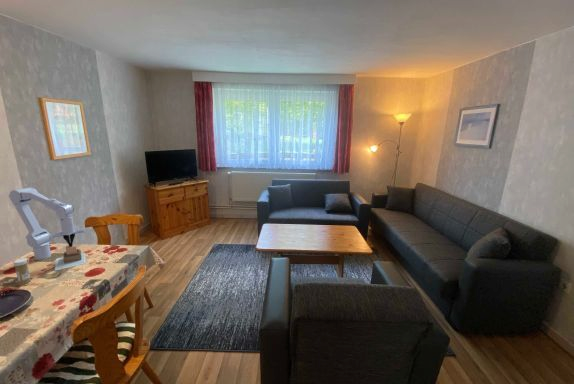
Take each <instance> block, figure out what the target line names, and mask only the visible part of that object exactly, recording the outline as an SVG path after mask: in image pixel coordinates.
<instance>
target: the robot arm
mask: <svg viewBox="0 0 574 384" xmlns="http://www.w3.org/2000/svg"><path fill="white" fill-rule="evenodd" d="M8 197H9V199H10V201H11V203H12V205H13V206H14V208H15V209H16V211H17V213H18V215H19V217H20V219H21V220H22V222H23V224H24V225H25V228H26V230H27V231H28V233H27V235H25V239H26V243H27V245H28V246H29V247H31V248H32V250H33V251H32V252H33V255H34V260H36V261H40V260H46V259H49V258H51V256H52V252H51V247H50V243H51V240H53V239H54V238H59V237H62V238H63V239H64V240H65V242H66V243H67V244H68V245H69V247H72V244H74V240H75V237H76V234H77V235H78V234H84V233H85V228H80V229H75V224H74V217H73V213H74V212H75V207H74V206H73V205H72V204H71V203H64V202H61V201H60V200H57V199H56V198H49V197H47V196H45V195H43V194H42V193H39V192H38V190H37V189H35V188H34V187H31V186H29V187H25V188H20V189H19V188H18V189H13V190H11V191H10V192H9V194H8ZM33 200H34V201H36V202H39V203H41V204H43V205H44V206H45V208H47V209H50V210H52V211H54V212H55V214H56V215H57V217H58V219H59V222H60V223H59V224H60V227H61V232H56V233H55V232H54V233H52V234H51V233H49V232H48V230H47V229H46V228H42V227H41V226H40V223H39V221H38V220H37V218H36V216H35V215H34V212H33V211H32V210H31V208H30V205H29V203H30V202H31V201H33Z"/></svg>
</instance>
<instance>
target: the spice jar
mask: <svg viewBox="0 0 574 384" xmlns="http://www.w3.org/2000/svg"><path fill="white" fill-rule="evenodd" d="M27 259H28V258H19V259H15V260H14V261H13V266H14V269H15V274H16V279H17V282H18V287H26V286H28V285H30V283H31V275H30V271H29V268H28V267H29V266H28V260H27Z"/></svg>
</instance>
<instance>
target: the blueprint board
mask: <svg viewBox="0 0 574 384" xmlns="http://www.w3.org/2000/svg"><path fill="white" fill-rule="evenodd" d="M81 257H82V260H78V261H73V262H69V263H64V259H63V256H62V257H58V258H55V263H54V271H59V270H64V269H69V268H72V267H76V266H82V265H84V264H85V265H86V264H87V258H86V257H87V256H86V252H81Z"/></svg>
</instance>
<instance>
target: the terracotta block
mask: <svg viewBox="0 0 574 384" xmlns="http://www.w3.org/2000/svg"><path fill="white" fill-rule="evenodd" d="M77 249H78V248H77V244H76V243H73V244H72V247H69V244H68V245H66V246H65V250H66V251H65V252H66V253H67V255H71V254H76V253H77Z"/></svg>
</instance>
